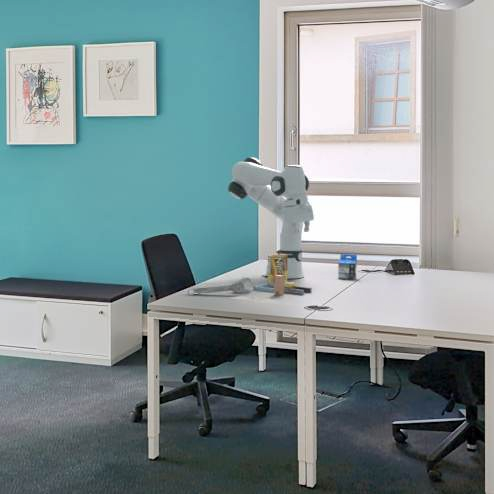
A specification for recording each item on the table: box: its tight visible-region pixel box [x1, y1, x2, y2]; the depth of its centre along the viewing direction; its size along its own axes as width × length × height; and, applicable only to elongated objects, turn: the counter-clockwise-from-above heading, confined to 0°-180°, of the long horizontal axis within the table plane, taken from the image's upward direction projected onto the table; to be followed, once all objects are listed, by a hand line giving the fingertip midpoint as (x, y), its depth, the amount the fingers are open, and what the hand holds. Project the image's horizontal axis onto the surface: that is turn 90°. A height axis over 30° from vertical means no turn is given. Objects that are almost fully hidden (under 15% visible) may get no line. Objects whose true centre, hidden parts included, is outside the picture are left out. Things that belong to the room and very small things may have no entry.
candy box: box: [267, 253, 288, 284], centre depth 345 cm, size 9×4×15 cm, turn 110°
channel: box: [284, 285, 313, 296], centre depth 322 cm, size 14×10×4 cm
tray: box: [252, 282, 274, 293], centre depth 329 cm, size 11×12×3 cm
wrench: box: [187, 276, 254, 294], centre depth 324 cm, size 8×2×30 cm
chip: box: [284, 281, 297, 289], centre depth 323 cm, size 4×4×4 cm
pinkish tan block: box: [273, 275, 285, 296], centre depth 316 cm, size 3×4×10 cm
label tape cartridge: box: [337, 253, 358, 280], centre depth 368 cm, size 9×4×12 cm, turn 68°
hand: (301, 232), depth 314 cm, fingers open, 8 cm apart
